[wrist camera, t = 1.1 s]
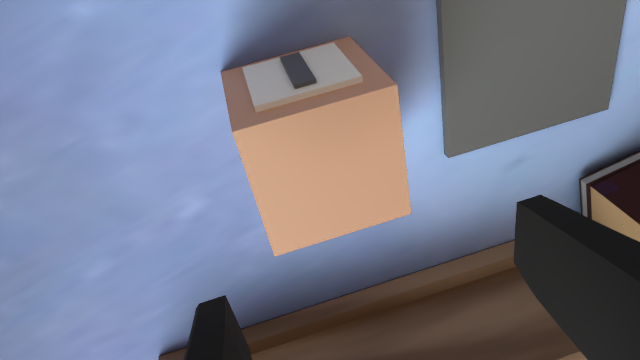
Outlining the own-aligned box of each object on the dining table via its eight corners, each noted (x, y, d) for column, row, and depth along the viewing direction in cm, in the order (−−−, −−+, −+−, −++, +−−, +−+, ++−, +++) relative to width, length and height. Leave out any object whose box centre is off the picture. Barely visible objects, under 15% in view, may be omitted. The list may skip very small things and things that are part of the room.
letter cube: (367, 146, 21) (411, 213, 17) (256, 179, 21) (274, 256, 17) (347, 26, 18) (396, 73, 14) (217, 62, 18) (228, 121, 14)
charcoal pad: (602, 105, 23) (608, 109, 23) (444, 153, 22) (448, 158, 22) (632, -82, 18) (640, -81, 18) (435, -29, 18) (439, -27, 17)
